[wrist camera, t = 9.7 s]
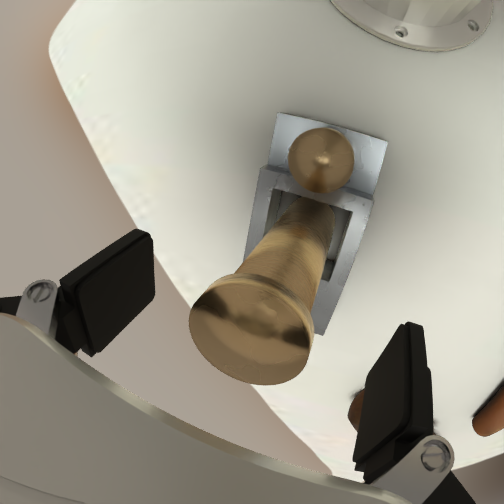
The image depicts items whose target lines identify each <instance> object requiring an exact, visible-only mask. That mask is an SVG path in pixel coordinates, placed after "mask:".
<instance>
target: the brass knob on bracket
mask: <svg viewBox="0 0 504 504" xmlns="http://www.w3.org/2000/svg"><path fill="white" fill-rule="evenodd" d="M387 144H388V142H387V141H385V140H382V139H379V138H376V137H373V136H370V135H366V134H363V133H360V132H357V131H353V130H350V129H346V128H343V127H339V126H335V125H332V124H328V123H324V122H320V121H316V120H312V119H308V118H303V117H299V116H295V115H290V114H285V113H277V118H276V123H275V128H274V133H273V139H272V144H271V149H270V154H269V159H268V164H267V165H266V166H264V167H262V168H260V172H259V177H258V183H257V188H256V194H255V199H254V204H253V210H252V215H251V221H250V226H249V232H248V237H247V243H246V248H245V254H244V259H243V262H244V261H245V260H246V258H247V257H248V256H249V255H250V254H251V252H252V251H253V250H254V249H255V247H256V246H257V245H258V244H259V242H260V241H261V240H262V239H263V238H264V236H265V235H266V234H267V233H268V231H269V230H270V229H271V228H272V227H273V225H274V224H275V221H276V216H277V212H278V207H279V202H280V198H281V193H282V191H286V192H290V193H293V194H297V195H300V196H303V197H307V198H310V199H314V200H317V201H320V202H324V203H327V204H330V205H333V206H336V207H340V208H343V209H346V210H349V211H351V212H350V215H349V218H348V221H347V224H346V228H345V231H344V234H343V237H342V240H341V243H340V246H339V249H338V252H337V255H336V258H335V261H334V262H332V261H329V260H326V261H325V265H324V269H323V272H322V276H321V279H320V283H319V286H318V290H317V293H316V296H315V300H314V303H313V306H312V310H311V313H310V315H311V317H312V320H313V324H314V333H316V334H319V335H322V336H323V335H324V333H325V330H326V328H327V326H328V324H329V321H330V319H331V317H332V314H333V312H334V309H335V307H336V305H337V302H338V300H339V297H340V295H341V292H342V290H343V287H344V285H345V282H346V280H347V277H348V275H349V272H350V269H351V267H352V264H353V261H354V259H355V256H356V253H357V250H358V248H359V245H360V242H361V239H362V236H363V234H364V231H365V228H366V225H367V222H368V219H369V216H370V213H371V210H372V206H373V203H374V198H373V194H374V190H375V187H376V184H377V180H378V177H379V173H380V170H381V166H382V163H383V159H384V155H385V152H386V148H387Z"/></svg>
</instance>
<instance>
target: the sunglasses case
mask: <svg viewBox="0 0 504 504" xmlns="http://www.w3.org/2000/svg"><path fill="white" fill-rule="evenodd" d="M472 426H473V428H474V430H475V432H476V433H477V434H478V435H480V436H484V437H486V436H490V435H492V434H494V433H496V432H498V431H500V430H502V429H503V428H504V385H503V386H502V388H501V389H500V390H499V391H498V392H497V393H496V395H495V396H494V397H493V398H492V399H491V400H490V402H489V403H488V404H487V405H486V406H485V407H484V408H483V409H482V410H481V411H480V412H479V414H477V415H476V416H475V417H474V418H473V420H472Z"/></svg>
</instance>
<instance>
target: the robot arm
mask: <svg viewBox="0 0 504 504" xmlns="http://www.w3.org/2000/svg"><path fill="white" fill-rule="evenodd" d="M330 1H331V2H332V3H333V4H334V5H335V7H336V8H337V9H338V10H339V11H340V12H341V13H343V14H344V15H345V16H346V17H347V18H348V19H350V20H351V21H352V22H353V23H355V24H356V25H358V26H359V27H361V28H363V29H364V30H366V31H367V32H369V33H371V34H373V35H375V36H377V37H379V38H381V39H383V40H385V41H388V42H391V43H394V44H396V45H399V46H402V47H406V48H411V49H415V50H420V51H433V52H440V51H450V50H455V49H458V48H461V47H464V46H466V45H468V44H469V43H471V42H473V41H475V40H476V39H477V38H478V37H480V36H481V35H482V34H483V33H484V31H485V30H486V28H487V27H488V25H489V23H490V20H491V16H492V12H493V4H492V0H330ZM469 26H470V27H471V28H472V30H471V29H470V28H469ZM397 32H400V33H402V34H403V37H399V36H397V35H396V33H397ZM59 281H60V285H61V286H60V287H58V288H57V285H56V284H55V283H54V282H53V281H51V280H45V279H43V280H38V281H35V282H33V283H31V284H30V285H29V286H28V287H27V288H26V289H25V291H24V292H23V295H22V296H15V297H4V298H0V504H476V503H475V501H474V500H473V499H472V497H471V496H470V495H469V494H468V492H467V491H466V490H465V488H464V487H463V486H462V484H461V483H460V482H459V481H458V479H457V478H456V477H455V475H454V474H453V473H452V471H451V468H452V467H453V464H454V451H453V448H452V446H451V445H450V443H449V442H448V441H447V440H446V439H445V438H443V437H441V436H438V435H433V397H432V380H431V371H430V369H429V368H428V367H427V356H426V346H425V338H424V330H423V326H421V325H418V324H415V323H412V322H406V323H405V325H404V324H400V326H399V327H398V329H397V330H396V332H395V333H394V335H393V337H392V338H391V340H390V341H389V343H388V345H387V346H386V348H385V349H384V351H383V352H382V354H381V355H380V357H379V358H378V360H377V361H376V363H375V364H374V366H373V367H372V369H371V370H370V372H369V373H368V375H367V378H366V383H365V390H364V397H363V404H362V410H361V417H360V422H359V428H358V434H357V439H356V444H355V449H354V454H353V462H356V466H355V471H360V472H364V476H363V479H364V481H363V482H362V483H360V482H356V481H352V480H348V479H344V478H340V477H336V476H332V475H328V474H324V473H320V472H317V471H313V470H309V469H306V468H303V467H299V466H296V465H293V464H289V463H286V462H283V461H280V460H277V459H274V458H271V457H268V456H265V455H262V454H259V453H256V452H254V451H251V450H249V449H246V448H243V447H241V446H238V445H236V444H233V443H231V442H228V441H226V440H224V439H221V438H219V437H217V436H214V435H212V434H210V433H208V432H205V431H203V430H201V429H199V428H197V427H195V426H192V425H190V424H188V423H186V422H184V421H182V420H180V419H178V418H176V417H174V416H172V415H170V414H169V413H167V412H165V411H163V410H161V409H159V408H157V407H156V406H154V405H152V404H150V403H148V402H147V401H145V400H143V399H141V398H140V397H138V396H136V395H135V394H133V393H131V392H130V391H128V390H126V389H125V388H123V387H121V386H120V385H118V384H116V383H115V382H113V381H112V380H110V379H109V378H107V377H106V376H104V375H103V374H101V373H100V372H98V371H97V370H95V369H94V368H92V367H91V366H90V365H88V364H87V363H85V362H84V361H82V360H81V359H80V358H78V357H77V354H78V353H77V352H78V350H79V349H80V348H81V349H82V351H83V352H85V353H86V354H88V355H89V356H90V357H93V356H94V355H95V354H96V353H99V352H101V351H102V350H103V349H104V348H105V347H106V346H107V345H108V344H109V343H110V342H111V341H112V340H113V339H114V338H115V337H116V336H117V335H118V334H119V333H120V332H121V331H122V330H123V329H124V328H125V327H126V326H127V325H128V324H129V323H130V322H131V321H132V320H133V319H134V318H135V317H136V316H137V315H138V314H139V313H140V312H141V311H142V310H143V309H144V308H145V307H146V306H147V305H148V304H149V303H150V302H151V301H152V300H153V298H154V296H155V280H154V254H153V239H152V238H151V236H150V234H149V233H148V232H145V231H142V230H139V229H134V230H132V231H131V232H129V233H128V234H126V235H124V236H123V237H121V238H120V239H118V240H117V241H115V242H114V243H112V244H111V245H109V246H108V247H106V248H105V249H103V250H102V251H100V252H99V253H97V254H96V255H94V256H93V257H92V258H90V259H88V260H87V261H86V262H84V263H82V264H81V265H80V266H78V267H77V268H75V269H74V270H72V271H71V272H70V273H68V274H67V275H65V276H64V277H63V278H61V279H60V280H59Z"/></svg>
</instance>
